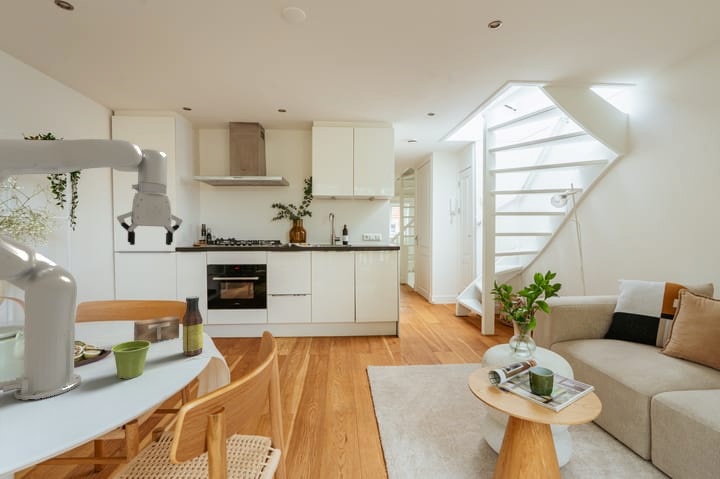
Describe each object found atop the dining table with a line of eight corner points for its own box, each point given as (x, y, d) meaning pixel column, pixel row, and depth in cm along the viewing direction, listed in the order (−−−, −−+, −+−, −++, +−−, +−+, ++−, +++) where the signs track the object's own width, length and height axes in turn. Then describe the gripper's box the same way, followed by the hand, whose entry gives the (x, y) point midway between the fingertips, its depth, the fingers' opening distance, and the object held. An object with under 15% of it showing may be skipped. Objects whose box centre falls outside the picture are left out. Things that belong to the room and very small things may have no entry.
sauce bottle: (206, 350, 112) (208, 295, 112) (195, 357, 106) (197, 299, 106) (189, 349, 113) (190, 294, 113) (177, 355, 107) (179, 298, 107)
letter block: (136, 346, 114) (137, 324, 114) (133, 342, 118) (134, 321, 118) (179, 338, 124) (179, 318, 124) (175, 335, 128) (175, 315, 128)
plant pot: (146, 365, 99) (147, 338, 99) (153, 375, 92) (153, 346, 92) (108, 373, 92) (109, 344, 92) (112, 385, 85) (113, 354, 85)
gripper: (120, 185, 89) (118, 245, 89) (186, 193, 101) (184, 245, 101) (115, 187, 94) (114, 244, 94) (179, 194, 106) (177, 244, 107)
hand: (150, 244), depth 98 cm, fingers open, 9 cm apart
